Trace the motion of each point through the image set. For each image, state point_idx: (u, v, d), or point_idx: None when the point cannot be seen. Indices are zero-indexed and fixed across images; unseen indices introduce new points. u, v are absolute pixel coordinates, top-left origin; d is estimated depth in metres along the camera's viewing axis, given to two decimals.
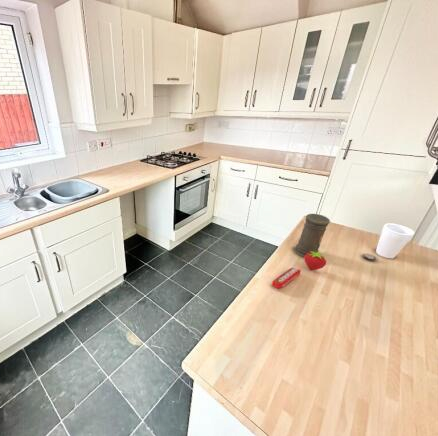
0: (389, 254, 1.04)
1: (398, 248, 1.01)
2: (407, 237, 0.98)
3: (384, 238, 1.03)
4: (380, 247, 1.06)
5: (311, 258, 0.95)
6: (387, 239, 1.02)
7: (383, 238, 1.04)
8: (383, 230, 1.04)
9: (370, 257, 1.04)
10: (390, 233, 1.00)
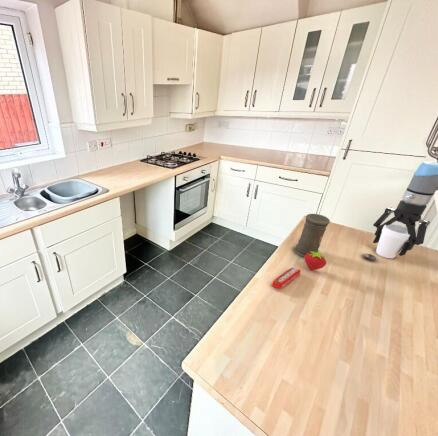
0: (389, 254, 1.04)
1: (398, 248, 1.01)
2: (407, 237, 0.98)
3: (384, 238, 1.03)
4: (380, 247, 1.06)
5: (311, 258, 0.95)
6: (387, 239, 1.02)
7: (383, 238, 1.04)
8: (383, 230, 1.04)
9: (370, 257, 1.04)
10: (390, 233, 1.00)
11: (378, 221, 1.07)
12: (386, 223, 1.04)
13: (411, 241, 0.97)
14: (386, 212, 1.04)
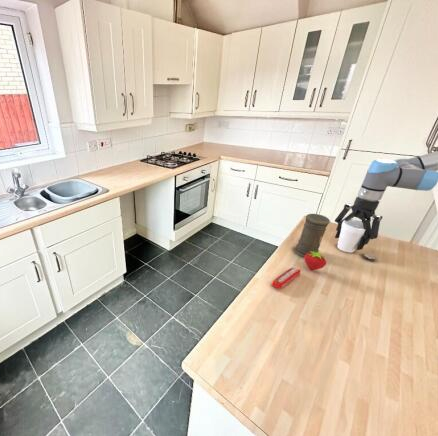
0: (348, 248, 1.08)
1: (356, 242, 1.05)
2: (363, 232, 1.02)
3: (343, 233, 1.07)
4: (340, 242, 1.10)
5: (311, 258, 0.95)
6: (345, 234, 1.06)
7: (342, 233, 1.08)
8: (342, 225, 1.08)
9: (370, 257, 1.04)
10: (348, 228, 1.04)
11: (339, 217, 1.11)
12: (345, 219, 1.08)
13: (366, 236, 1.01)
14: (345, 208, 1.08)
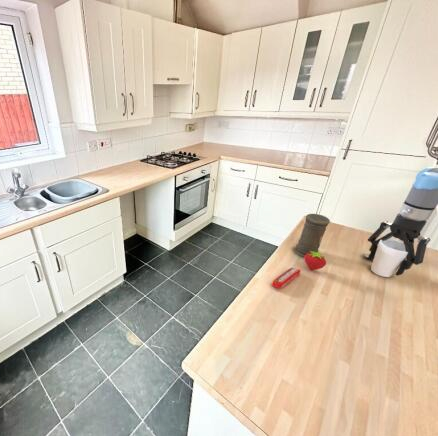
0: (385, 272, 0.94)
1: (395, 266, 0.91)
2: (406, 255, 0.88)
3: (380, 255, 0.93)
4: (375, 264, 0.96)
5: (311, 258, 0.95)
6: (383, 256, 0.92)
7: (379, 255, 0.94)
8: (379, 246, 0.94)
9: None
10: (387, 249, 0.90)
11: (373, 236, 0.97)
12: (382, 238, 0.94)
13: (409, 260, 0.87)
14: (382, 226, 0.94)
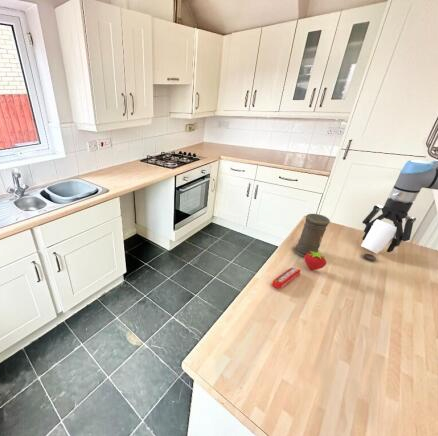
0: (376, 247, 1.04)
1: (385, 242, 1.02)
2: None
3: (375, 230, 1.04)
4: (368, 240, 1.06)
5: (311, 258, 0.95)
6: (378, 231, 1.03)
7: (374, 230, 1.05)
8: (375, 222, 1.05)
9: (370, 257, 1.04)
10: (384, 224, 1.02)
11: (367, 218, 1.09)
12: (374, 220, 1.06)
13: (398, 237, 0.99)
14: (374, 209, 1.06)
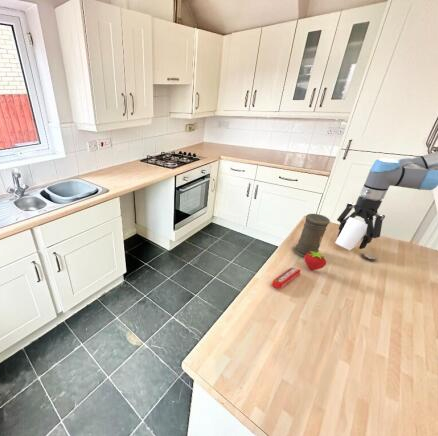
0: (348, 244, 1.07)
1: (357, 239, 1.05)
2: None
3: (347, 227, 1.07)
4: (341, 237, 1.09)
5: (311, 258, 0.95)
6: (350, 228, 1.06)
7: (346, 227, 1.07)
8: (348, 220, 1.07)
9: (370, 257, 1.04)
10: (355, 221, 1.04)
11: (341, 216, 1.12)
12: None
13: (369, 235, 1.02)
14: (347, 207, 1.08)
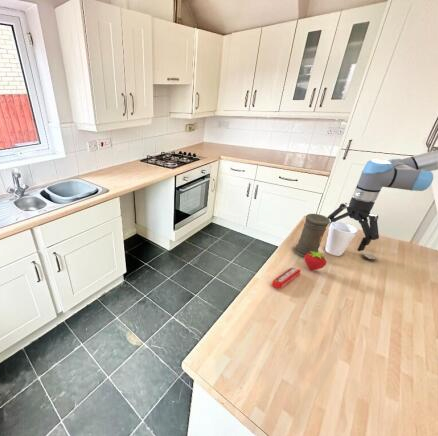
0: (336, 251, 1.06)
1: (343, 246, 1.04)
2: (350, 235, 1.00)
3: (330, 236, 1.06)
4: (328, 245, 1.08)
5: (311, 258, 0.95)
6: (333, 237, 1.04)
7: (330, 236, 1.06)
8: (329, 228, 1.06)
9: (370, 257, 1.04)
10: (335, 231, 1.03)
11: (332, 214, 1.11)
12: (339, 217, 1.08)
13: (367, 236, 0.99)
14: (340, 207, 1.07)
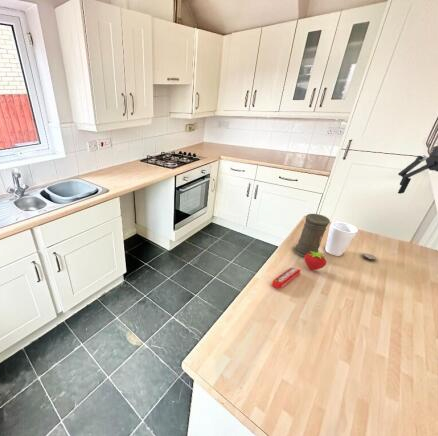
0: (336, 251, 1.06)
1: (343, 246, 1.04)
2: (351, 235, 1.00)
3: (331, 236, 1.06)
4: (328, 245, 1.08)
5: (311, 258, 0.95)
6: (333, 237, 1.05)
7: (330, 236, 1.06)
8: (330, 228, 1.06)
9: (370, 257, 1.04)
10: (335, 231, 1.03)
11: (405, 170, 1.01)
12: (415, 171, 0.99)
13: None
14: (417, 160, 0.97)
